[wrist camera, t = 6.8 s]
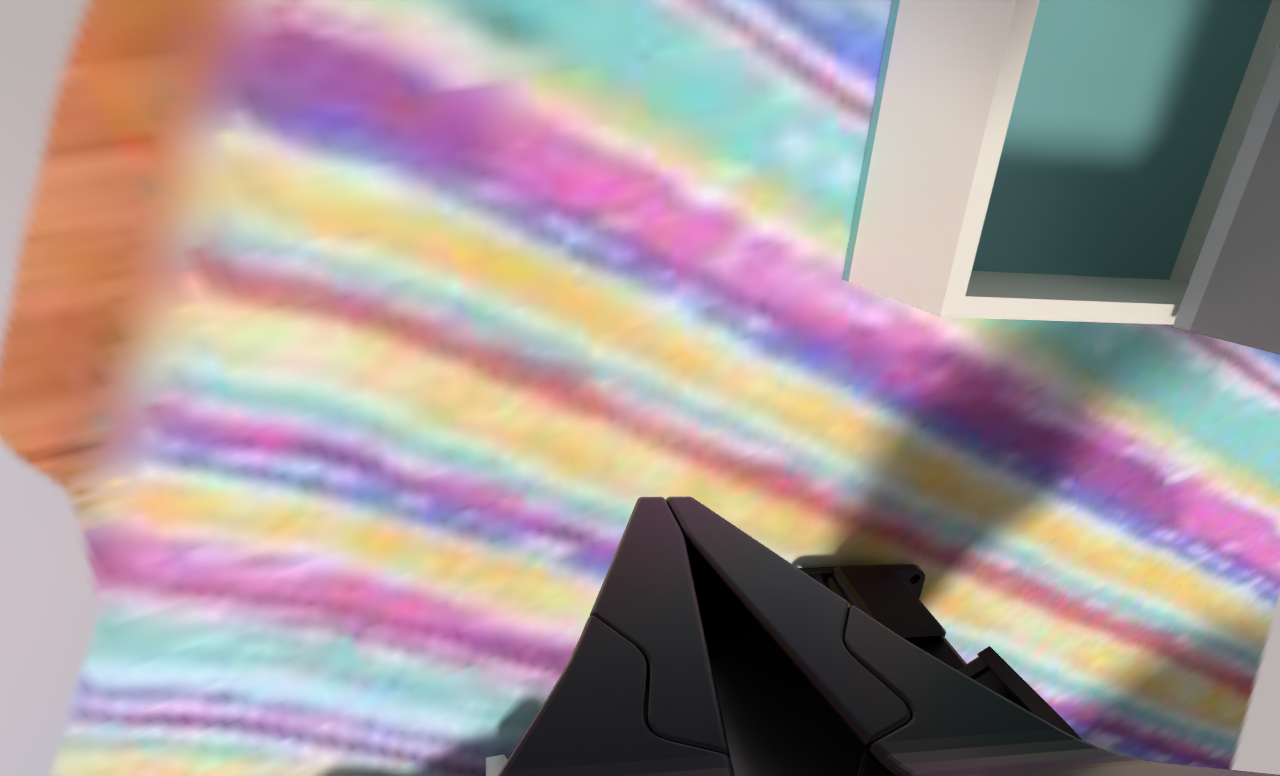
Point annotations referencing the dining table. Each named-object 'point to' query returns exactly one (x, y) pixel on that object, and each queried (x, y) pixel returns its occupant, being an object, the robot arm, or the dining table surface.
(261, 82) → the dining table surface
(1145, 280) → the box
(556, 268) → the dining table surface
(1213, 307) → the lid
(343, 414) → the dining table surface
